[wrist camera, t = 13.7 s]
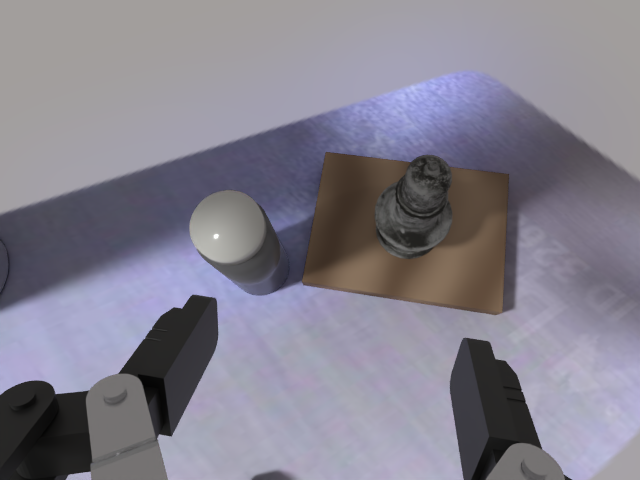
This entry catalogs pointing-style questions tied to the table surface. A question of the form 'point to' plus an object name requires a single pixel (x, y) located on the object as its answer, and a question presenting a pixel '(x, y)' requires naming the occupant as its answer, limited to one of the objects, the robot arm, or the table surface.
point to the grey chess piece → (415, 209)
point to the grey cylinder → (239, 241)
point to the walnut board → (419, 273)
